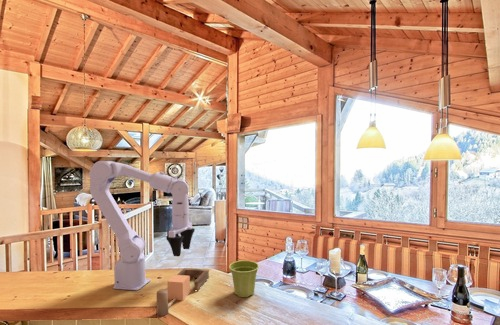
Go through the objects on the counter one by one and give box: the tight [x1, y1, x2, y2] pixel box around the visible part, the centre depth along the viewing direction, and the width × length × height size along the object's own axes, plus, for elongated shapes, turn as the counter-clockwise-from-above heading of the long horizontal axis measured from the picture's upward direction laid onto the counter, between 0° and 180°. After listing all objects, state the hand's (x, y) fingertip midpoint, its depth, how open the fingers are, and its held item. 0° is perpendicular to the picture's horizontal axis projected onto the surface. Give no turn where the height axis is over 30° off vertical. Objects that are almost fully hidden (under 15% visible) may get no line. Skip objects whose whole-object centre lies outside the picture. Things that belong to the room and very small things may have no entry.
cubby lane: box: [176, 267, 210, 291], centre depth 96 cm, size 9×10×3 cm
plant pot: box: [229, 259, 260, 298], centre depth 88 cm, size 9×9×9 cm
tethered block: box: [156, 274, 191, 317], centre depth 83 cm, size 5×14×6 cm, turn 168°
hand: (181, 252), depth 99 cm, fingers open, 7 cm apart
